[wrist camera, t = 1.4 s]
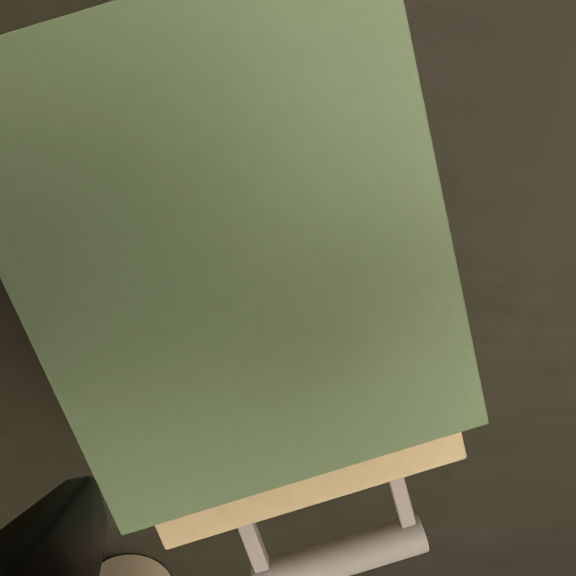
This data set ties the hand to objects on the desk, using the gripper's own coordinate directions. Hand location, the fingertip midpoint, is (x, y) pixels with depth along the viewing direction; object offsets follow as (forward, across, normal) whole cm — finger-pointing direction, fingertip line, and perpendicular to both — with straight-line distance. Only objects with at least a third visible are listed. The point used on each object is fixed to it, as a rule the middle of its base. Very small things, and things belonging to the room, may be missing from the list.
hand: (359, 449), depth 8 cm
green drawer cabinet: (+14, +2, -2) cm, 14 cm away
